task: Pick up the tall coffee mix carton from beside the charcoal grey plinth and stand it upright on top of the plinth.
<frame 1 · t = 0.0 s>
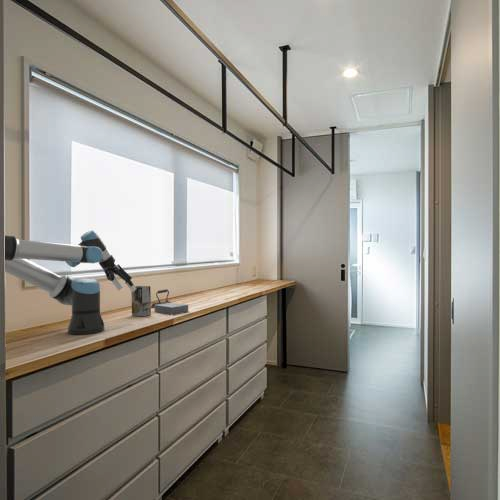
hand: (127, 289, 196), 15 cm above the worktop, tool tilted 35°, fingers open, 13 cm apart
plinth: (171, 311, 216), on the worktop
clothes iron: (163, 306, 237), on the worktop
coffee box: (141, 315, 206), on the worktop
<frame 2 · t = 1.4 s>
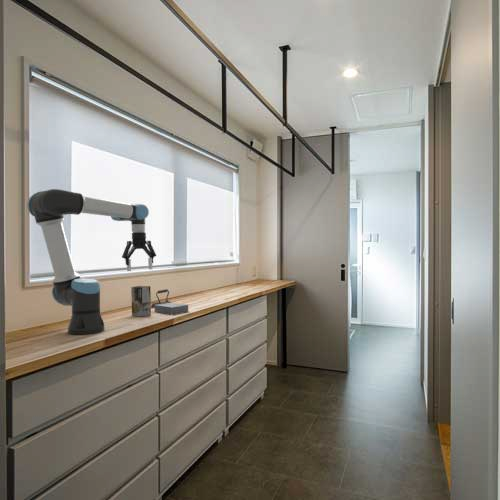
hand: (140, 270, 205), 25 cm above the worktop, tool pointing down, fingers open, 13 cm apart
nothing on the worktop moved.
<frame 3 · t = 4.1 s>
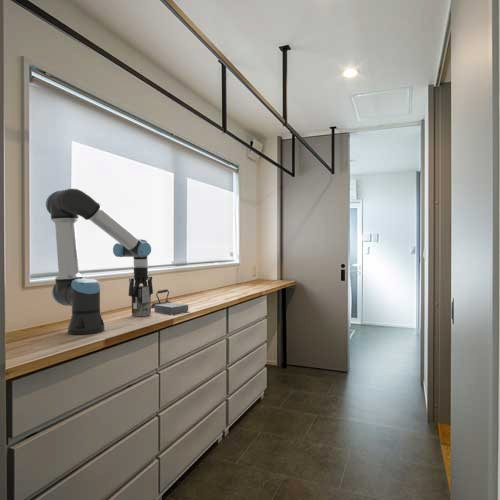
hand: (141, 307, 206), 4 cm above the worktop, tool pointing down, fingers closed on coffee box, 7 cm apart
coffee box: (141, 315, 206), on the worktop, touching gripper
everything else where it was.
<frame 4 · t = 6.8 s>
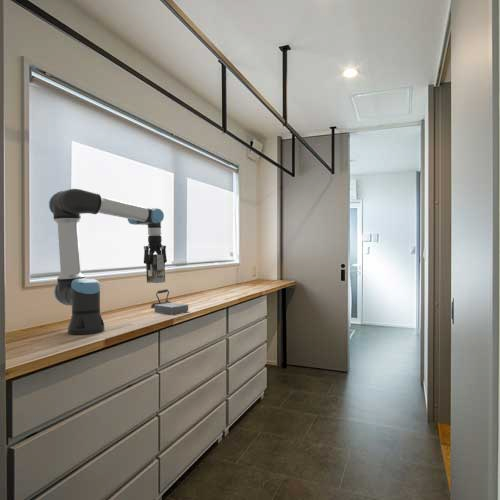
hand: (155, 275, 211), 22 cm above the worktop, tool pointing down, fingers closed on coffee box, 7 cm apart
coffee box: (156, 282, 211), point 18 cm above the worktop, touching gripper
everything else where it was.
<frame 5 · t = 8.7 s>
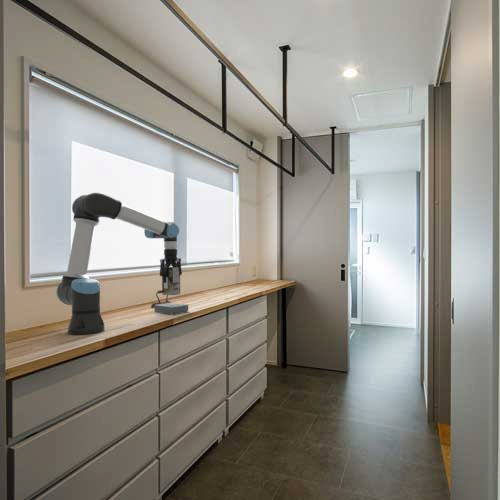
hand: (171, 287, 216), 14 cm above the worktop, tool pointing down, fingers closed on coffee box, 7 cm apart
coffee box: (171, 294, 216), point 10 cm above the worktop, touching gripper
everything else where it was.
when the fingers open (9 cm above the worktop, at t = 9.9 s): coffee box drops 1 cm, resting on plinth.
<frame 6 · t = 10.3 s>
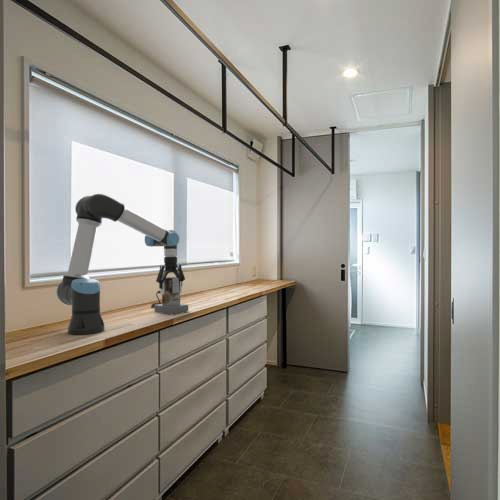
hand: (171, 293, 216), 11 cm above the worktop, tool pointing down, fingers open, 12 cm apart
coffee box: (171, 305, 216), point 4 cm above the worktop, touching plinth
everything else where it was.
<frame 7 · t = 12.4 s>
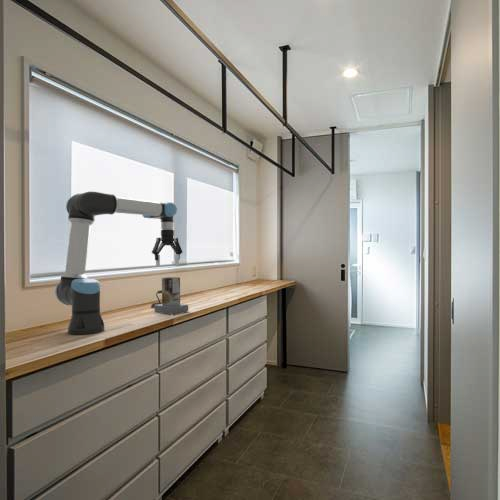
hand: (167, 265, 216), 27 cm above the worktop, tool pointing down, fingers open, 13 cm apart
nothing on the worktop moved.
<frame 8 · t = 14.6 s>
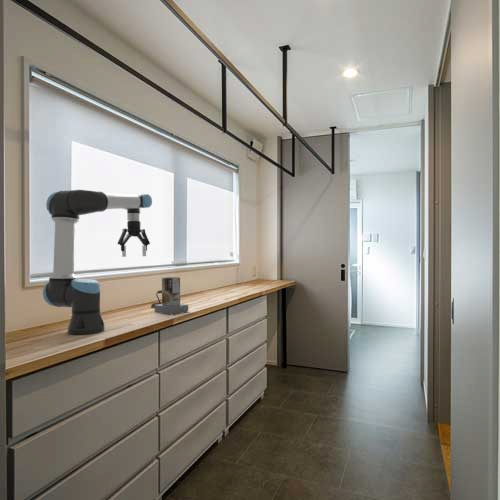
hand: (134, 256, 219), 33 cm above the worktop, tool pointing down, fingers open, 13 cm apart
nothing on the worktop moved.
at the end: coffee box inside the target area on the plinth (0.1 cm from its centre), point 3.8 cm above the plinth's base; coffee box tilted 0°; the gripper is holding nothing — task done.
